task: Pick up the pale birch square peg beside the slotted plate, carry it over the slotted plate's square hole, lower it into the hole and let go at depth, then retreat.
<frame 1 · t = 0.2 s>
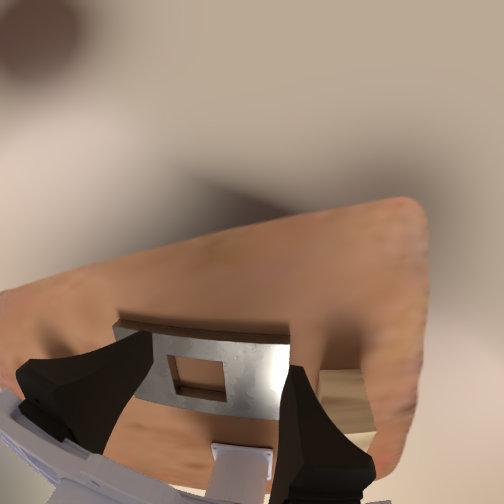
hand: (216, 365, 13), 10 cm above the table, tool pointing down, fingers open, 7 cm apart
birch peg: (337, 384, 24), on the table
slotted plate: (201, 370, 25), on the table
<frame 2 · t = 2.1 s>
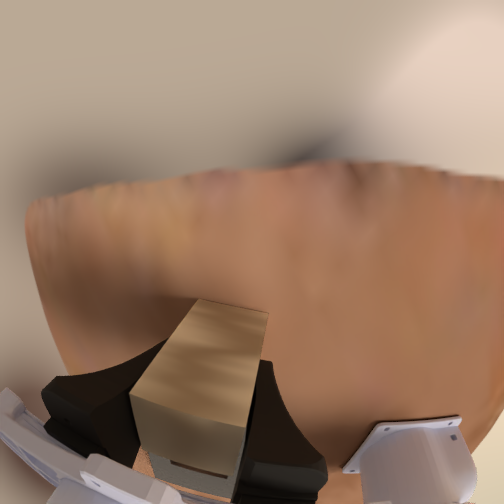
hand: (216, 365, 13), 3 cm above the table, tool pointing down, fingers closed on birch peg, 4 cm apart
birch peg: (228, 335, 16), on the table, touching gripper
slotted plate: (203, 448, 19), on the table
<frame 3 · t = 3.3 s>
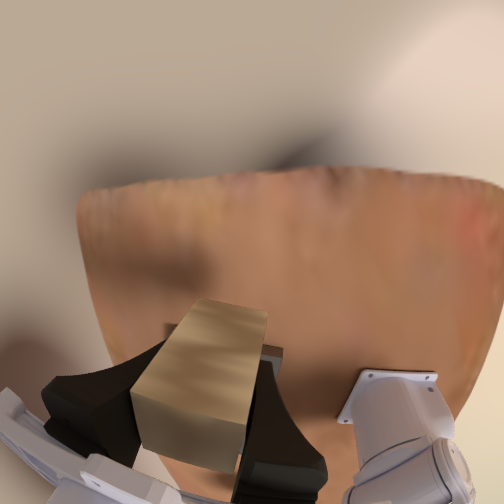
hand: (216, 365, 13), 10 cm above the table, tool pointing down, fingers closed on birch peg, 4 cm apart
birch peg: (229, 334, 16), point 7 cm above the table, touching gripper
slotted plate: (219, 399, 26), on the table
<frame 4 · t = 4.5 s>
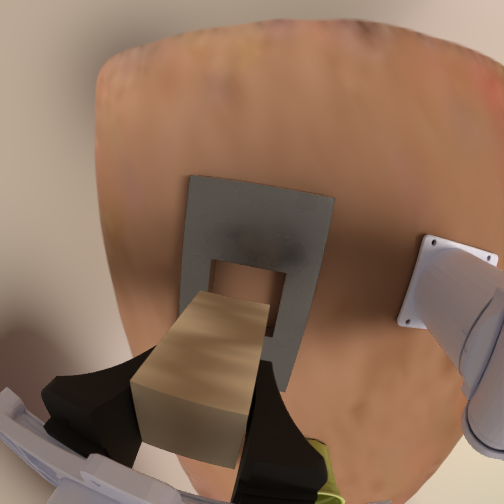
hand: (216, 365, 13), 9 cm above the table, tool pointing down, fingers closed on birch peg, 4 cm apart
birch peg: (230, 327, 16), point 6 cm above the table, touching gripper
slotted plate: (246, 292, 22), on the table
plant pot: (303, 449, 27), on the table
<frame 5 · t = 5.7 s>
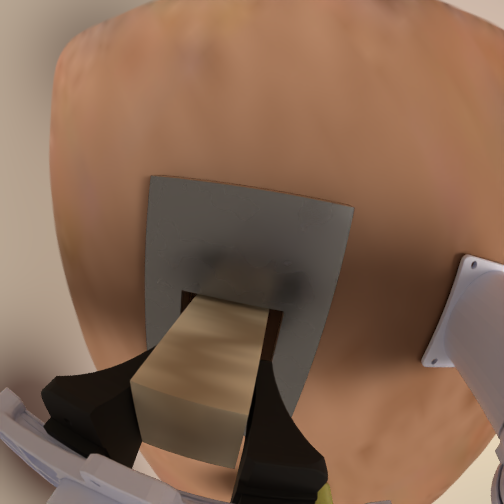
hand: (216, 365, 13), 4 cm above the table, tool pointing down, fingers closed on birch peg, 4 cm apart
birch peg: (230, 327, 16), resting in slotted plate, touching gripper
slotted plate: (231, 330, 16), on the table
plant pot: (301, 486, 21), on the table
when the fingers open (3 cm above the table, at t = 6.9 s): birch peg stays where it is, resting in slotted plate.
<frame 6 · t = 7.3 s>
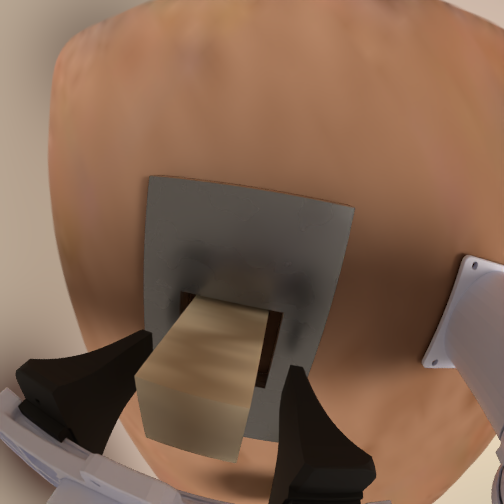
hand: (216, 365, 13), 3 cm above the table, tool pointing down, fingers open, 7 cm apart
birch peg: (231, 325, 16), resting in slotted plate
slotted plate: (230, 331, 16), on the table
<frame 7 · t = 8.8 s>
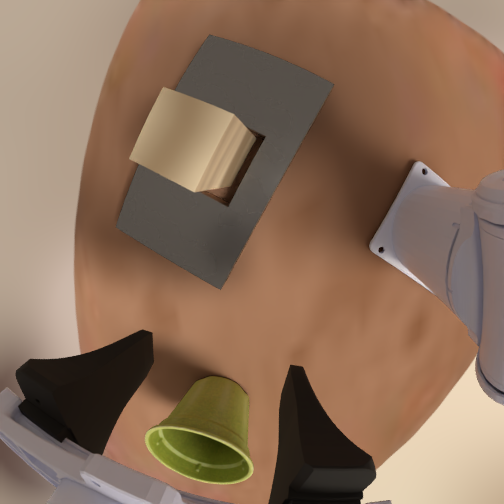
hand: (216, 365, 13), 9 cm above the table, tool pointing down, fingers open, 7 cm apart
birch peg: (220, 150, 19), resting in slotted plate
slotted plate: (217, 155, 19), on the table
plant pot: (220, 394, 26), on the table
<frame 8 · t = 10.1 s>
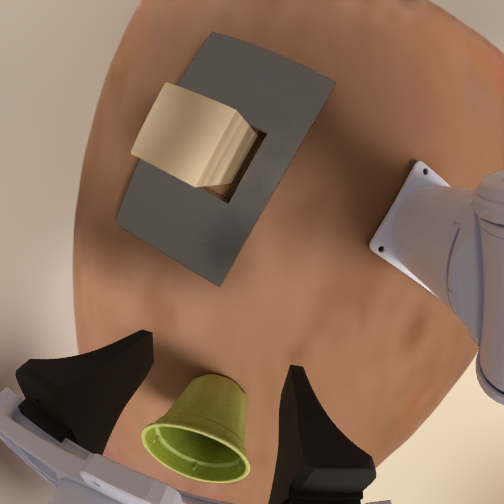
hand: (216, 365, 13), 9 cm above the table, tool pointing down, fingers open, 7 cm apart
birch peg: (221, 147, 19), resting in slotted plate
slotted plate: (218, 152, 19), on the table
plant pot: (217, 392, 26), on the table
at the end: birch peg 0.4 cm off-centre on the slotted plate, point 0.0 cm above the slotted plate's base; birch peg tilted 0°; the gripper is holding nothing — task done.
